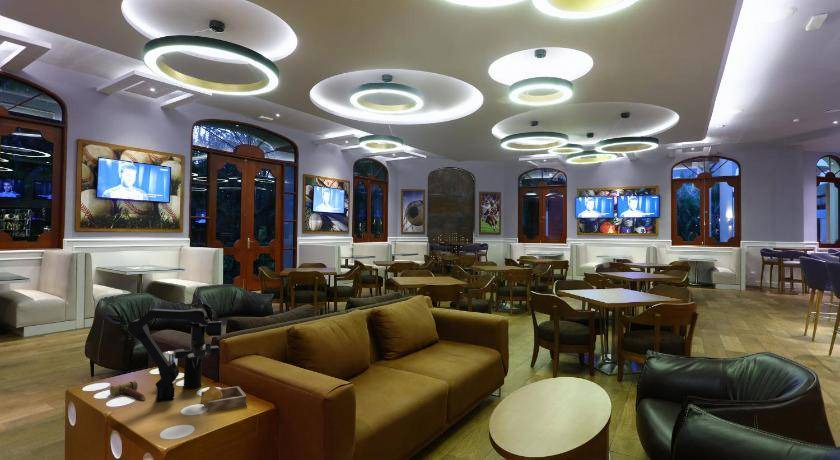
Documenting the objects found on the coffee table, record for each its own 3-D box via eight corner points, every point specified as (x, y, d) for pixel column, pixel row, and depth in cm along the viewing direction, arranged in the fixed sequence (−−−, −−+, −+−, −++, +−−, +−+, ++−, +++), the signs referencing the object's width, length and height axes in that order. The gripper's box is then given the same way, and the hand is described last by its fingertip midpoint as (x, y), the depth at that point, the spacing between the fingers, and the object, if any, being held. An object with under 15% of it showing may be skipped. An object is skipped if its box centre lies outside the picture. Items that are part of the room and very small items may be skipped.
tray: (207, 412, 188) (207, 402, 188) (201, 400, 201) (201, 391, 201) (246, 405, 197) (246, 396, 198) (238, 394, 210) (238, 386, 210)
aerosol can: (205, 386, 220) (206, 345, 221) (188, 390, 213) (190, 348, 214) (195, 382, 225) (197, 342, 225) (179, 387, 218) (181, 345, 218)
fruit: (209, 394, 202) (206, 382, 198) (227, 397, 202) (224, 384, 198) (200, 409, 195) (197, 397, 191) (218, 412, 195) (215, 400, 191)
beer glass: (179, 380, 227) (180, 351, 227) (170, 385, 220) (171, 354, 220) (166, 380, 228) (168, 350, 228) (157, 384, 221) (158, 353, 221)
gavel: (156, 391, 203) (133, 397, 194) (156, 401, 203) (132, 407, 195) (133, 379, 214) (110, 384, 205) (132, 388, 214) (109, 394, 206)
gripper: (177, 342, 194) (175, 378, 194) (223, 338, 205) (221, 372, 204) (174, 337, 203) (172, 371, 203) (218, 333, 214) (217, 366, 214)
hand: (196, 370), depth 206 cm, fingers closed
